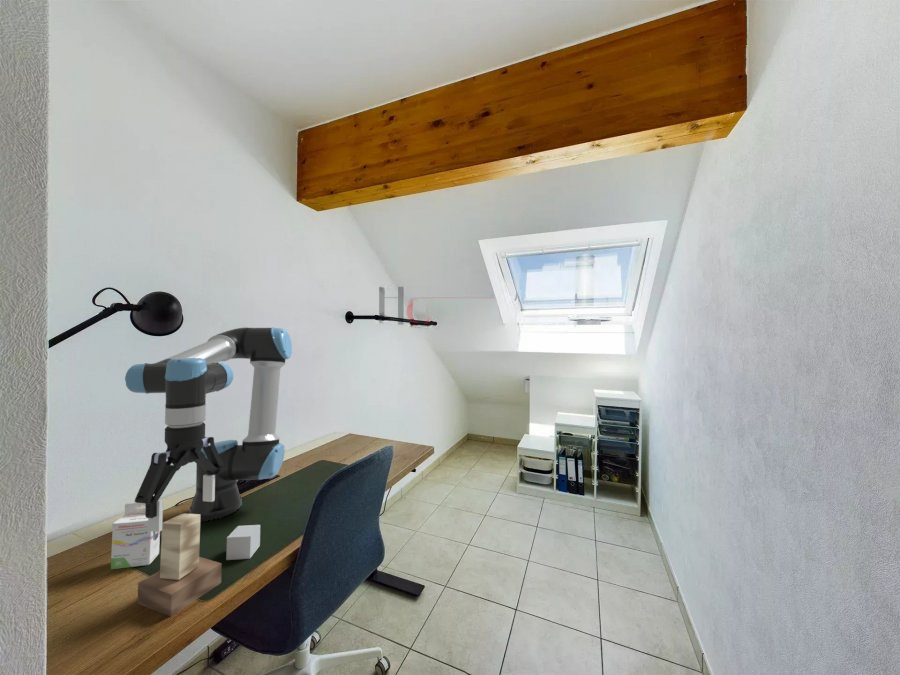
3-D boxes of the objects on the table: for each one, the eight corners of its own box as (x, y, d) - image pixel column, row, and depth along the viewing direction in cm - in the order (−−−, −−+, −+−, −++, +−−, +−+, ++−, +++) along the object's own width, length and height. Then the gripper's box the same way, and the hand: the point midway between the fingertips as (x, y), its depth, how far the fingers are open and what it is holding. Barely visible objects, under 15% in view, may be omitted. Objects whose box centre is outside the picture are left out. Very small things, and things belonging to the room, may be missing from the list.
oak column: (180, 564, 81) (182, 513, 82) (198, 566, 80) (200, 514, 81) (159, 578, 76) (162, 522, 77) (178, 579, 76) (180, 524, 76)
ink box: (108, 570, 86) (111, 511, 86) (122, 558, 91) (124, 503, 91) (149, 565, 88) (151, 507, 89) (160, 553, 93) (162, 499, 93)
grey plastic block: (237, 547, 96) (238, 525, 97) (259, 545, 97) (260, 524, 97) (226, 560, 90) (226, 537, 91) (250, 558, 91) (250, 536, 91)
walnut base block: (189, 574, 85) (190, 554, 86) (221, 584, 82) (221, 563, 82) (137, 605, 75) (138, 582, 75) (170, 618, 71) (171, 594, 72)
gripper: (215, 412, 92) (214, 490, 92) (112, 438, 68) (110, 544, 67) (240, 413, 91) (238, 492, 91) (144, 440, 67) (142, 548, 66)
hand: (184, 514), depth 79 cm, fingers open, 13 cm apart
